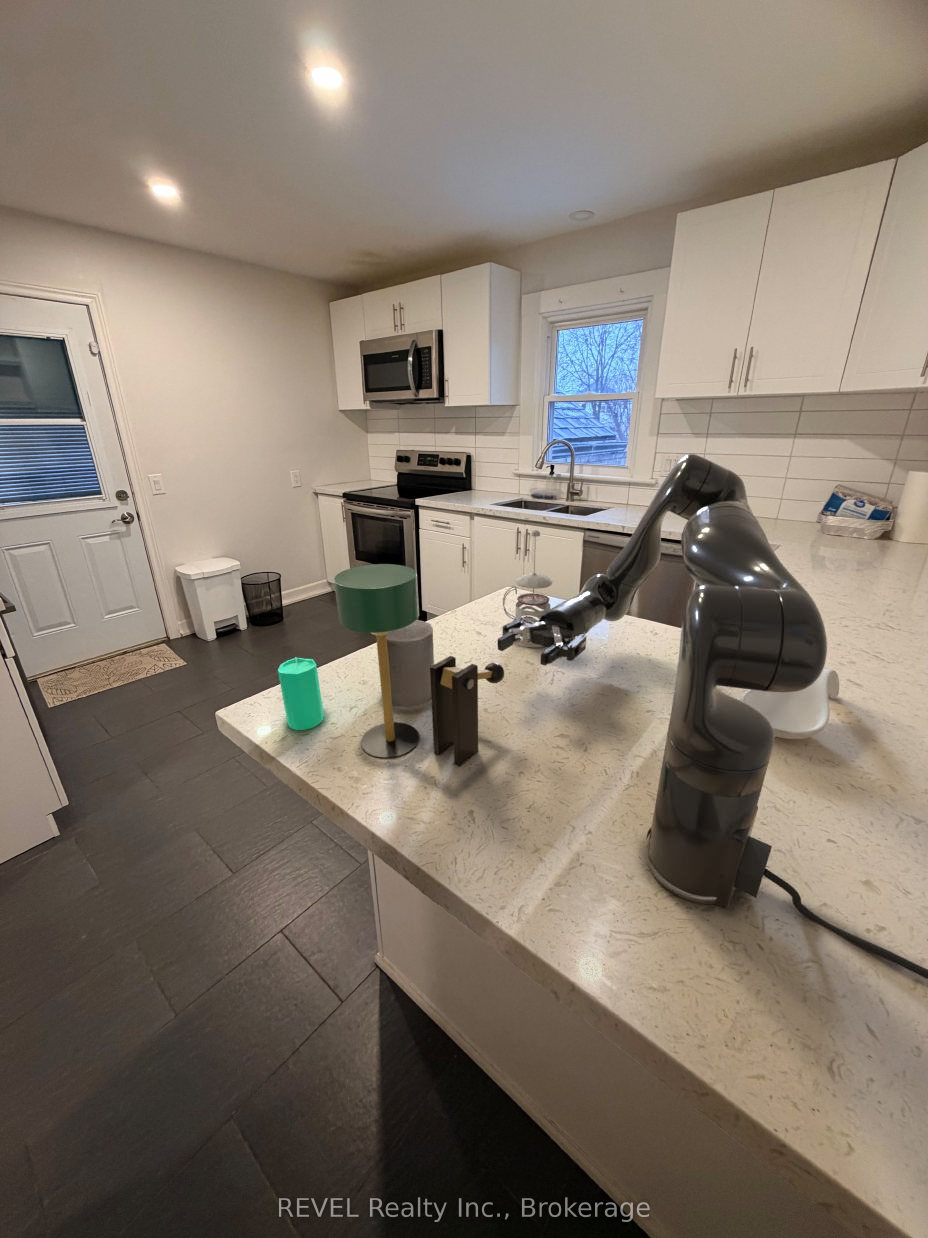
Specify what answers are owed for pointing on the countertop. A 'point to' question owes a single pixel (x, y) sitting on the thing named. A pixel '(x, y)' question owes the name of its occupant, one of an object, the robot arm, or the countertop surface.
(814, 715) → the spoon rest
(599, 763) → the countertop surface
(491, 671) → the switch lever
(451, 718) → the switch bracket
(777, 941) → the countertop surface
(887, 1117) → the countertop surface
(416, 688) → the pillar candle
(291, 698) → the candle
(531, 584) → the french press
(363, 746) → the desk lamp
